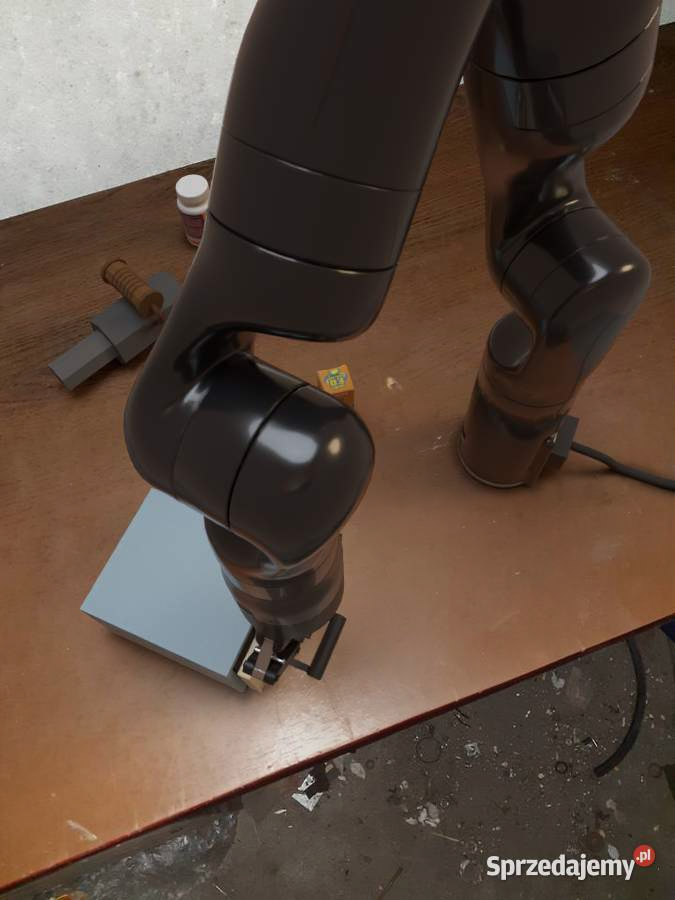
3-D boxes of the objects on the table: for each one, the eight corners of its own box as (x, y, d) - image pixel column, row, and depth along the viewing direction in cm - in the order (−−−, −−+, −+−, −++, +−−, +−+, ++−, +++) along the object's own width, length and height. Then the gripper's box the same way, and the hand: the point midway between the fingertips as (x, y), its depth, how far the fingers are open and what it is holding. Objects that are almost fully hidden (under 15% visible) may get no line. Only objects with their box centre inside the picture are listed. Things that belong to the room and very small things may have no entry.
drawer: (358, 603, 69) (358, 582, 62) (311, 716, 64) (305, 705, 57) (193, 535, 73) (176, 507, 66) (138, 636, 68) (113, 617, 61)
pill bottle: (217, 250, 91) (204, 201, 84) (182, 245, 92) (167, 196, 85) (226, 224, 94) (215, 174, 86) (193, 219, 94) (178, 169, 87)
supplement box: (327, 441, 78) (323, 395, 69) (319, 416, 80) (314, 367, 71) (355, 434, 78) (355, 387, 70) (347, 409, 80) (345, 360, 71)
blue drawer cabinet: (298, 574, 71) (290, 544, 63) (243, 693, 66) (226, 677, 58) (175, 523, 74) (151, 487, 66) (113, 632, 69) (78, 609, 61)
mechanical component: (45, 367, 84) (7, 316, 75) (159, 286, 89) (136, 229, 80) (93, 418, 80) (59, 370, 71) (208, 330, 86) (190, 275, 77)
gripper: (293, 690, 40) (309, 721, 56) (378, 498, 46) (372, 575, 61) (181, 638, 42) (227, 682, 57) (277, 458, 47) (295, 543, 63)
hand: (302, 626), depth 59 cm, fingers closed
